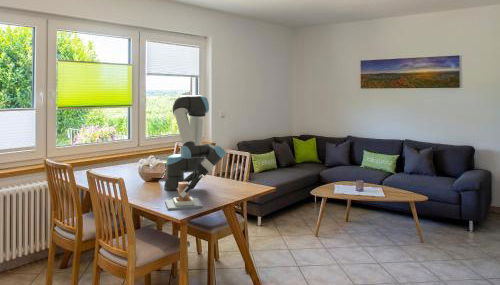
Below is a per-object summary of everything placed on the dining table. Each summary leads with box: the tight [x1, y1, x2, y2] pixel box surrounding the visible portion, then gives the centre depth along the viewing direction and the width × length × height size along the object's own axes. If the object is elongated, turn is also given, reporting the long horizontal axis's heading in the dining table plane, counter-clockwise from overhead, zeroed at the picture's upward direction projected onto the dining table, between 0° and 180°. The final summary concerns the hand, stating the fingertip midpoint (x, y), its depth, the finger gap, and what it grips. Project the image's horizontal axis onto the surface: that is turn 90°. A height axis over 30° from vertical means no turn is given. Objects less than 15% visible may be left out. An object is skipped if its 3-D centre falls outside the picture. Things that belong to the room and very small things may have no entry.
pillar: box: [177, 182, 190, 202], centre depth 239 cm, size 6×6×12 cm
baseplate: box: [164, 196, 204, 211], centre depth 239 cm, size 20×18×3 cm
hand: (179, 193), depth 238 cm, fingers open, 13 cm apart
